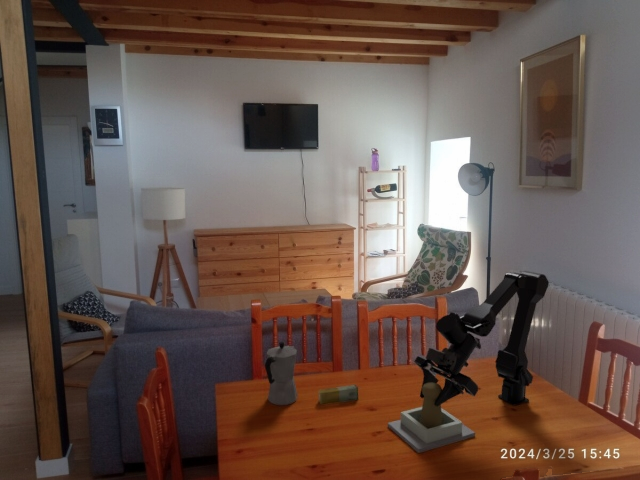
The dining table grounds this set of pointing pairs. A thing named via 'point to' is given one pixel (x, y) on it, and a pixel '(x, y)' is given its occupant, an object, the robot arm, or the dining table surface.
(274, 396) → the coffeepot
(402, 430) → the socket stand
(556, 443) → the dining table surface
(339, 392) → the medication box
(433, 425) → the cork
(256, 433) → the dining table surface
